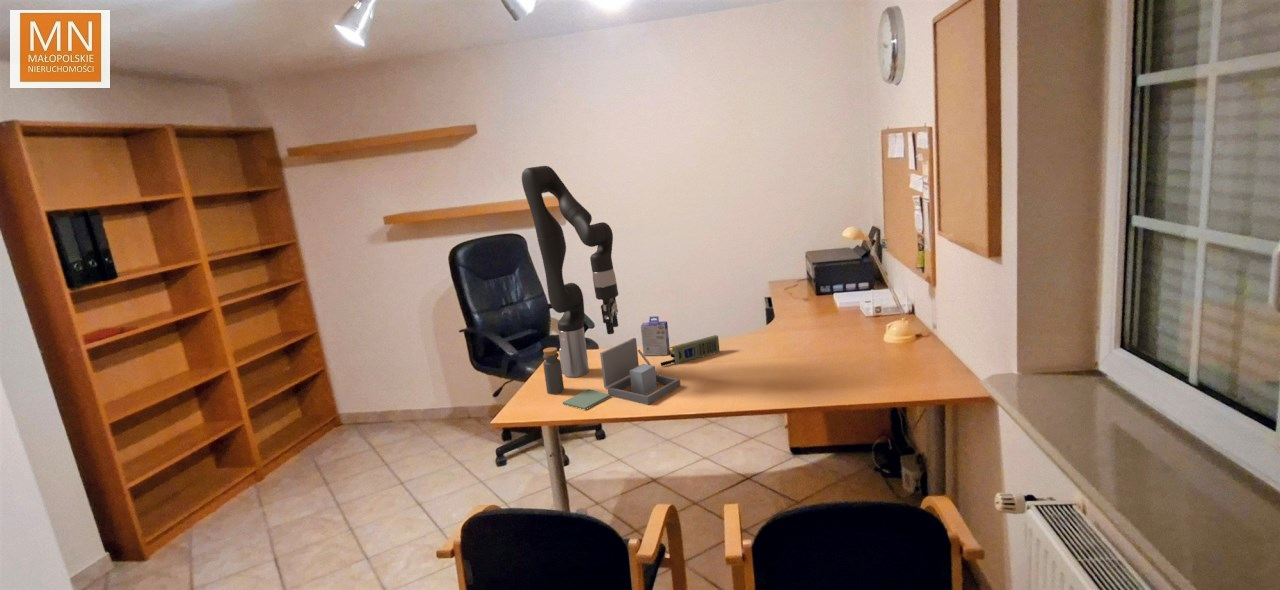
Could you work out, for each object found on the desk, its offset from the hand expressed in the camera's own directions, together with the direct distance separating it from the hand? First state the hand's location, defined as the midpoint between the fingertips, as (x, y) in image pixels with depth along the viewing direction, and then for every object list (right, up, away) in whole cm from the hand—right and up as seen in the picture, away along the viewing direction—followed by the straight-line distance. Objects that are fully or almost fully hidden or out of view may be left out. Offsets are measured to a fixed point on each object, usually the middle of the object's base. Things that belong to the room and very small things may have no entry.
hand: (613, 330), depth 212 cm
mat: (-8, -22, -8) cm, 25 cm away
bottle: (-20, -21, +3) cm, 29 cm away
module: (+11, -20, -4) cm, 23 cm away
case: (+11, -20, -4) cm, 23 cm away
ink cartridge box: (+16, -11, +32) cm, 37 cm away
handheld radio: (+28, -12, +22) cm, 38 cm away
